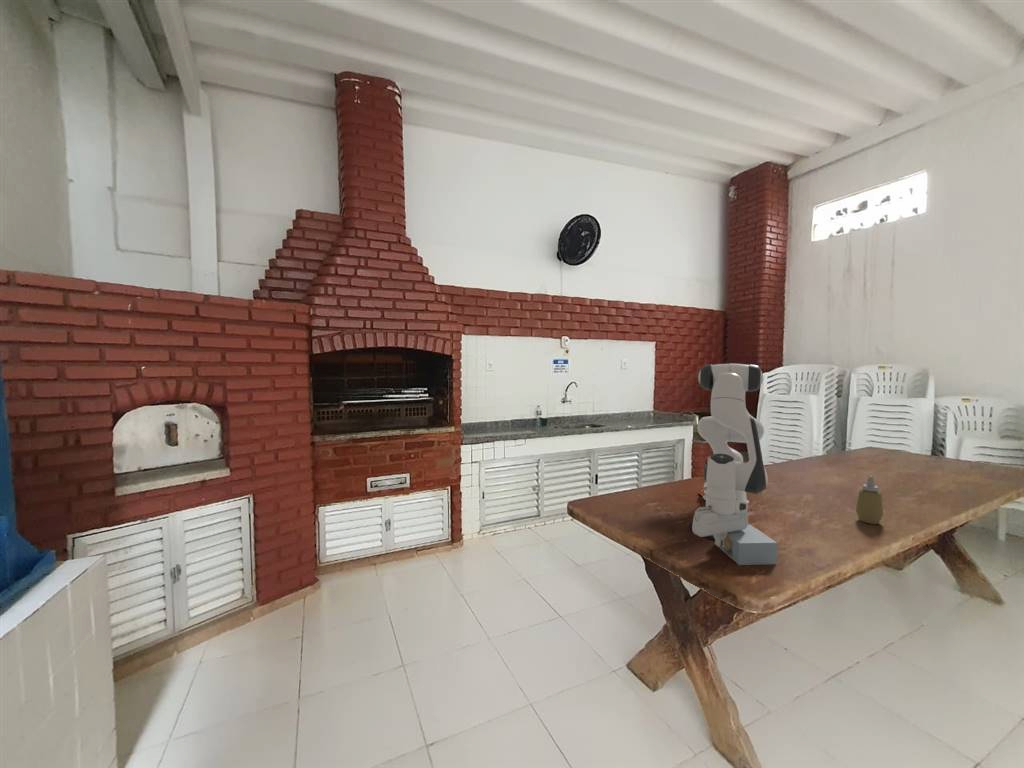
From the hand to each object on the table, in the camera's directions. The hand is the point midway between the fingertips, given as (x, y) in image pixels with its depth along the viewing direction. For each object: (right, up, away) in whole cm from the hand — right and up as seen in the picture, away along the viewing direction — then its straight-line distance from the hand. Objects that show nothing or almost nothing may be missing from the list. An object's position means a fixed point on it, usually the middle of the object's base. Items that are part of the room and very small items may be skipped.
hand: (719, 545), depth 134 cm
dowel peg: (+8, -1, 0) cm, 8 cm away
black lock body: (+10, -2, +20) cm, 22 cm away
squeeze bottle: (+72, -1, +25) cm, 76 cm away
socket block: (+8, -3, 0) cm, 9 cm away
